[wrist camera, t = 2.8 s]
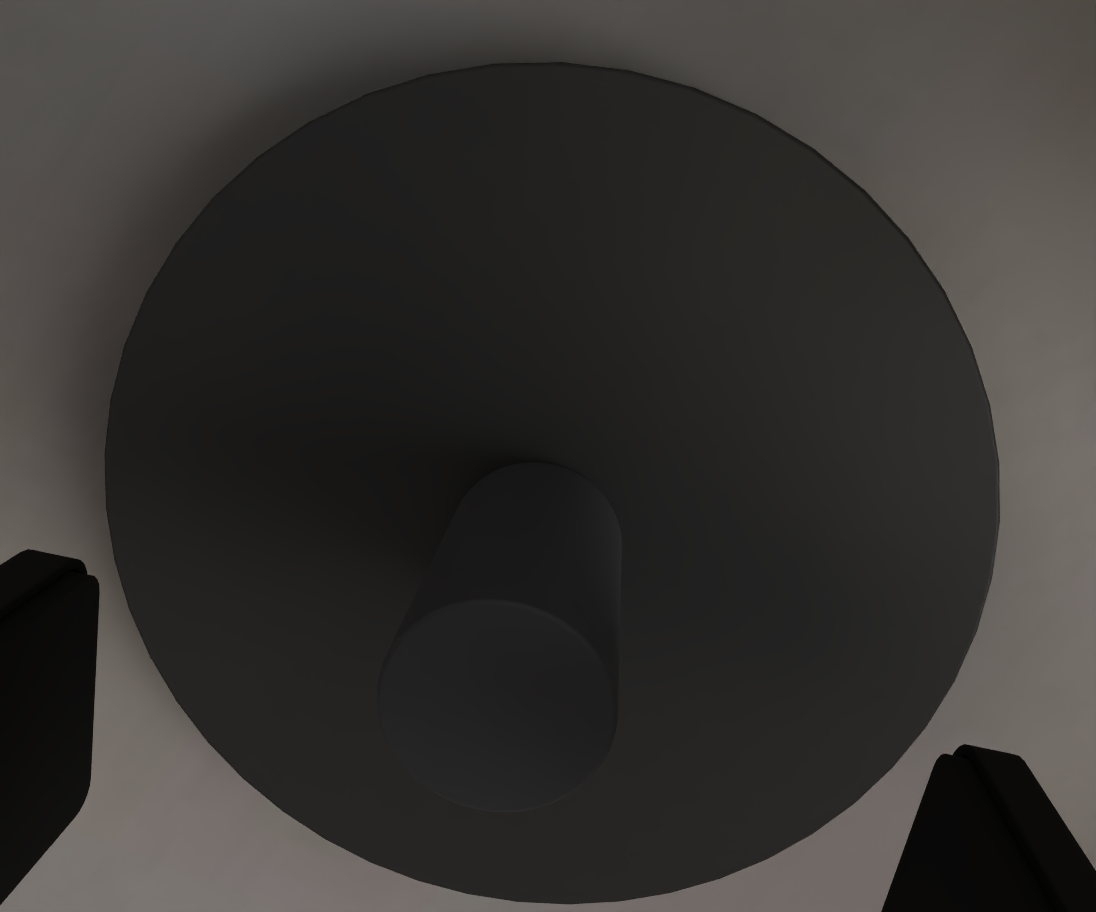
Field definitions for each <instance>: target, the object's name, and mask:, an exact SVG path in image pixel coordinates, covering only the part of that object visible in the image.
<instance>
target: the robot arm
mask: <svg viewBox="0 0 1096 912" xmlns="http://www.w3.org/2000/svg"><path fill="white" fill-rule="evenodd" d="M98 613H99V583H98V580H97V578H96V577H95V576H91V575H87V570H86V567H85V564H84V563H83V562H82V561H81V560H79V559H74V558H69V557H64V556H60V555H55V554H50V553H45V552H40V551H36V550H29V549H27V550H25V551H22V552H20V553H18V554H17V555H15V556H14V557H12V558H11V559H9V560H7V561H6V562H4V563H3V564H1V565H0V905H1V904H2V903H3V901H4V900H5V899H6V898H7V897H8V895H9V894H10V893H11V892H12V891H13V890H14V888H15V887H16V886H17V885H18V884H19V883H20V881H21V880H22V879H23V878H24V877H25V875H26V874H27V873H28V872H29V871H30V870H31V868H32V867H33V866H34V865H35V864H36V863H37V861H38V860H39V859H40V858H41V857H42V856H43V854H44V853H45V852H46V851H47V850H48V848H49V847H50V846H51V845H52V844H53V843H54V841H55V840H56V839H57V838H58V837H59V836H60V834H61V833H62V832H63V831H64V830H65V828H66V827H67V826H68V825H69V824H70V823H71V821H72V820H73V819H74V818H75V817H76V815H77V814H78V812H79V811H80V809H81V807H82V806H83V804H84V802H85V799H86V797H87V794H88V790H89V787H90V780H91V763H92V741H93V720H94V699H95V677H96V656H97V634H98ZM881 912H1096V871H1095V869H1094V868H1093V866H1092V864H1091V863H1090V861H1089V860H1088V858H1087V857H1086V855H1085V854H1084V852H1083V851H1082V849H1081V847H1080V846H1079V844H1078V843H1077V841H1076V840H1075V838H1074V837H1073V835H1072V834H1071V832H1070V831H1069V829H1068V827H1067V826H1066V824H1065V823H1064V821H1063V820H1062V818H1061V817H1060V815H1059V814H1058V812H1057V810H1056V809H1055V807H1054V806H1053V804H1052V803H1051V801H1050V800H1049V798H1048V797H1047V795H1046V794H1045V792H1044V790H1043V789H1042V787H1041V786H1040V784H1039V783H1038V781H1037V780H1036V778H1035V777H1034V775H1033V773H1032V772H1031V770H1030V769H1029V767H1028V766H1027V764H1026V763H1025V761H1024V760H1023V759H1022V758H1021V757H1020V756H1018V755H1014V754H1010V753H1005V752H1000V751H995V750H990V749H986V748H981V747H976V746H971V745H966V744H964V745H961V746H959V747H958V748H957V750H956V751H955V752H954V754H953V755H948V754H942V755H940V757H939V758H938V759H937V760H936V762H935V765H934V767H933V770H932V772H931V775H930V778H929V781H928V784H927V786H926V789H925V792H924V795H923V797H922V800H921V803H920V806H919V809H918V811H917V814H916V817H915V820H914V822H913V825H912V828H911V831H910V834H909V836H908V839H907V842H906V845H905V847H904V850H903V853H902V856H901V859H900V861H899V864H898V867H897V870H896V872H895V875H894V878H893V881H892V884H891V886H890V889H889V892H888V895H887V898H886V900H885V903H884V906H883V909H882V911H881Z"/></svg>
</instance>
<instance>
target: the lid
mask: <svg viewBox="0 0 1096 912" xmlns="http://www.w3.org/2000/svg"><path fill="white" fill-rule="evenodd" d="M105 490H106V511H107V517H108V523H109V529H110V535H111V541H112V548H113V554H114V560H115V563H116V566H117V570H118V573H119V577H120V580H121V583H122V587H123V590H124V593H125V597H126V600H127V603H128V607H129V610H130V612H131V614H132V617H133V619H134V621H135V623H136V626H137V628H138V630H139V633H140V635H141V637H142V639H143V642H144V644H145V646H146V648H147V651H148V653H149V655H150V657H151V659H152V661H153V662H154V664H155V666H156V667H157V669H158V671H159V673H160V674H161V676H162V678H163V679H164V681H165V683H166V684H167V686H168V688H169V689H170V691H171V693H172V694H173V696H174V698H175V699H176V701H177V702H178V704H179V705H180V706H181V708H182V709H183V710H184V712H185V713H186V714H187V715H188V717H189V718H190V719H191V721H192V722H193V723H194V725H195V726H196V727H197V728H198V730H199V731H200V732H201V734H202V735H203V736H204V738H205V739H206V740H207V742H208V743H209V744H210V745H211V746H212V747H213V748H214V749H215V750H216V751H217V752H218V753H219V754H220V755H221V756H222V757H223V758H224V759H225V760H226V761H227V762H228V763H229V764H230V765H231V766H232V767H233V768H234V770H235V771H236V772H237V773H238V774H239V775H240V776H241V777H242V778H243V779H244V780H246V781H247V782H248V783H249V784H250V785H252V786H253V787H254V788H255V789H256V790H258V791H259V792H260V793H261V794H262V795H264V796H265V797H266V798H267V799H269V800H270V801H271V802H272V803H273V804H275V805H276V806H277V807H278V808H279V809H281V810H282V811H283V812H285V813H286V814H288V815H289V816H291V817H292V818H294V819H295V820H297V821H298V822H300V823H301V824H303V825H304V826H306V827H308V828H309V829H311V830H312V831H314V832H315V833H317V834H318V835H320V836H321V837H323V838H324V839H326V840H328V841H330V842H332V843H334V844H336V845H338V846H340V847H342V848H344V849H345V850H347V851H349V852H351V853H353V854H355V855H357V856H359V857H361V858H363V859H365V860H367V861H369V862H371V863H374V864H376V865H379V866H381V867H384V868H387V869H389V870H392V871H394V872H397V873H400V874H402V875H405V876H407V877H410V878H413V879H415V880H418V881H421V882H425V883H429V884H432V885H436V886H440V887H444V888H447V889H451V890H455V891H459V892H462V893H466V894H472V895H478V896H484V897H491V898H497V899H504V900H510V901H516V902H533V903H553V904H582V903H599V902H617V901H625V900H631V899H636V898H642V897H648V896H654V895H660V894H666V893H671V892H675V891H678V890H682V889H685V888H689V887H692V886H696V885H699V884H703V883H706V882H710V881H713V880H717V879H720V878H723V877H725V876H727V875H730V874H732V873H735V872H737V871H740V870H742V869H744V868H747V867H749V866H752V865H754V864H757V863H759V862H761V861H764V860H766V859H768V858H770V857H772V856H774V855H775V854H777V853H779V852H781V851H783V850H784V849H786V848H788V847H790V846H792V845H793V844H795V843H797V842H799V841H801V840H802V839H804V838H806V837H808V836H810V835H811V834H813V833H814V832H816V831H817V830H818V829H820V828H821V827H823V826H824V825H825V824H827V823H828V822H829V821H831V820H832V819H834V818H835V817H836V816H838V815H839V814H840V813H842V812H843V811H845V810H846V809H847V808H849V807H850V806H851V805H853V804H854V803H855V802H856V801H857V800H858V799H860V798H861V797H862V796H863V795H864V794H865V793H866V792H867V791H868V790H869V789H870V788H871V787H872V786H873V785H874V784H876V783H877V782H878V781H879V780H880V779H881V778H882V777H883V776H884V775H885V774H886V773H887V772H888V771H889V770H890V769H891V768H893V766H894V765H895V764H896V763H897V762H898V760H899V759H900V758H901V757H902V755H903V754H904V753H905V752H906V751H907V749H908V748H909V747H910V746H911V744H912V743H913V742H914V741H915V740H916V738H917V737H918V736H919V735H920V734H921V732H922V731H923V730H924V729H925V727H926V726H927V725H928V723H929V721H930V720H931V718H932V716H933V715H934V713H935V712H936V710H937V708H938V707H939V705H940V704H941V702H942V700H943V699H944V697H945V696H946V694H947V692H948V691H949V689H950V687H951V686H952V684H953V683H954V681H955V679H956V677H957V674H958V672H959V670H960V668H961V665H962V663H963V661H964V659H965V656H966V654H967V652H968V650H969V647H970V645H971V643H972V641H973V638H974V636H975V634H976V632H977V628H978V625H979V621H980V618H981V614H982V611H983V607H984V604H985V600H986V597H987V593H988V590H989V586H990V583H991V579H992V574H993V567H994V559H995V552H996V544H997V537H998V530H999V522H1000V501H999V459H998V453H997V447H996V440H995V434H994V428H993V421H992V415H991V409H990V404H989V400H988V397H987V394H986V391H985V388H984V384H983V381H982V378H981V375H980V372H979V369H978V365H977V362H976V359H975V356H974V353H973V349H972V347H971V344H970V342H969V340H968V338H967V336H966V334H965V332H964V330H963V328H962V326H961V324H960V322H959V320H958V318H957V316H956V313H955V311H954V309H953V307H952V305H951V303H950V301H949V299H948V297H947V295H946V293H945V291H944V289H943V288H942V286H941V285H940V284H939V282H938V281H937V279H936V278H935V276H934V275H933V273H932V272H931V270H930V269H929V267H928V266H927V264H926V263H925V261H924V260H923V258H922V257H921V256H920V254H919V253H918V251H917V250H916V248H915V247H914V245H913V244H912V242H911V241H910V239H909V238H908V237H907V236H906V235H905V234H904V233H903V232H902V230H901V229H900V228H899V227H898V226H897V225H896V224H895V223H894V222H893V221H892V220H891V218H890V217H889V216H888V215H887V214H886V213H885V212H884V211H883V210H882V209H881V208H880V206H879V205H878V204H877V203H876V202H875V201H874V200H873V199H872V198H871V197H870V196H869V194H868V193H867V192H866V191H865V190H864V189H862V188H861V187H860V186H859V185H857V184H856V183H855V182H854V181H853V180H851V179H850V178H849V177H848V176H846V175H845V174H844V173H843V172H842V171H840V170H839V169H838V168H837V167H835V166H834V165H833V164H832V163H831V162H829V161H828V160H827V159H826V158H824V157H823V156H822V155H821V154H820V153H818V152H817V151H816V150H815V149H813V148H812V147H810V146H808V145H807V144H805V143H803V142H802V141H800V140H798V139H797V138H795V137H793V136H792V135H790V134H788V133H787V132H785V131H783V130H782V129H780V128H778V127H777V126H775V125H773V124H772V123H770V122H769V121H767V120H765V119H764V118H762V117H760V116H759V115H757V114H755V113H752V112H750V111H748V110H745V109H743V108H741V107H738V106H736V105H734V104H731V103H729V102H726V101H724V100H722V99H719V98H717V97H715V96H712V95H710V94H708V93H705V92H703V91H701V90H698V89H696V88H693V87H689V86H686V85H682V84H678V83H674V82H670V81H667V80H663V79H659V78H655V77H652V76H648V75H644V74H640V73H637V72H633V71H629V70H622V69H613V68H605V67H597V66H588V65H580V64H572V63H563V62H550V63H505V64H489V65H483V66H477V67H471V68H465V69H459V70H453V71H447V72H441V73H435V74H429V75H426V76H422V77H419V78H416V79H413V80H410V81H407V82H403V83H400V84H397V85H394V86H391V87H388V88H385V89H381V90H378V91H375V92H372V93H369V94H366V95H364V96H362V97H360V98H358V99H356V100H353V101H351V102H349V103H347V104H345V105H343V106H341V107H339V108H337V109H335V110H333V111H331V112H329V113H327V114H325V115H322V116H320V117H318V118H316V119H314V120H312V121H310V122H308V123H307V124H305V125H304V126H302V127H301V128H299V129H298V130H297V131H295V132H294V133H292V134H291V135H289V136H288V137H286V138H285V139H283V140H282V141H280V142H279V143H277V144H276V145H274V146H273V147H271V148H270V149H269V150H267V151H266V152H264V153H263V154H261V155H260V156H258V157H257V158H256V159H255V160H254V161H253V162H251V163H250V164H249V165H248V166H247V167H246V168H245V169H244V170H243V171H242V172H241V173H239V174H238V175H237V176H236V177H235V178H234V179H233V180H232V181H231V182H230V183H229V184H227V185H226V186H225V187H224V188H223V189H222V190H221V191H220V192H219V193H218V194H217V195H215V196H214V197H213V198H212V200H211V201H210V202H209V203H208V204H207V206H206V207H205V208H204V209H203V211H202V212H201V213H200V214H199V216H198V217H197V218H196V219H195V220H194V222H193V223H192V224H191V225H190V227H189V228H188V229H187V230H186V232H185V233H184V234H183V235H182V236H181V238H180V239H179V240H178V241H177V243H176V244H175V246H174V247H173V249H172V251H171V252H170V254H169V256H168V257H167V259H166V261H165V262H164V264H163V266H162V267H161V269H160V271H159V272H158V274H157V276H156V277H155V279H154V281H153V282H152V284H151V286H150V287H149V289H148V291H147V293H146V295H145V297H144V299H143V302H142V304H141V307H140V309H139V311H138V314H137V316H136V319H135V321H134V324H133V326H132V328H131V331H130V333H129V336H128V338H127V340H126V343H125V345H124V349H123V353H122V357H121V361H120V365H119V369H118V373H117V376H116V380H115V384H114V388H113V392H112V396H111V400H110V409H109V418H108V427H107V436H106V445H105Z"/></svg>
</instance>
